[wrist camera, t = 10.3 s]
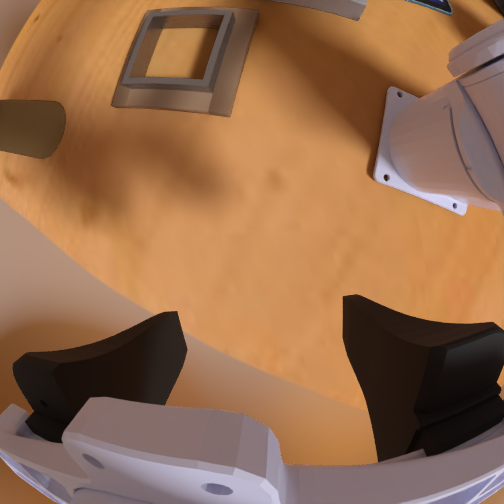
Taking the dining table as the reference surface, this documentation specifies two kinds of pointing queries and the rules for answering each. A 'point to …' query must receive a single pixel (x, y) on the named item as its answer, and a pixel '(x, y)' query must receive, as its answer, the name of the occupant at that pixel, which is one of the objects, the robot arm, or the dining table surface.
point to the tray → (333, 6)
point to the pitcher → (500, 5)
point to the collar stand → (183, 89)
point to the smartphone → (435, 5)
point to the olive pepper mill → (31, 127)
